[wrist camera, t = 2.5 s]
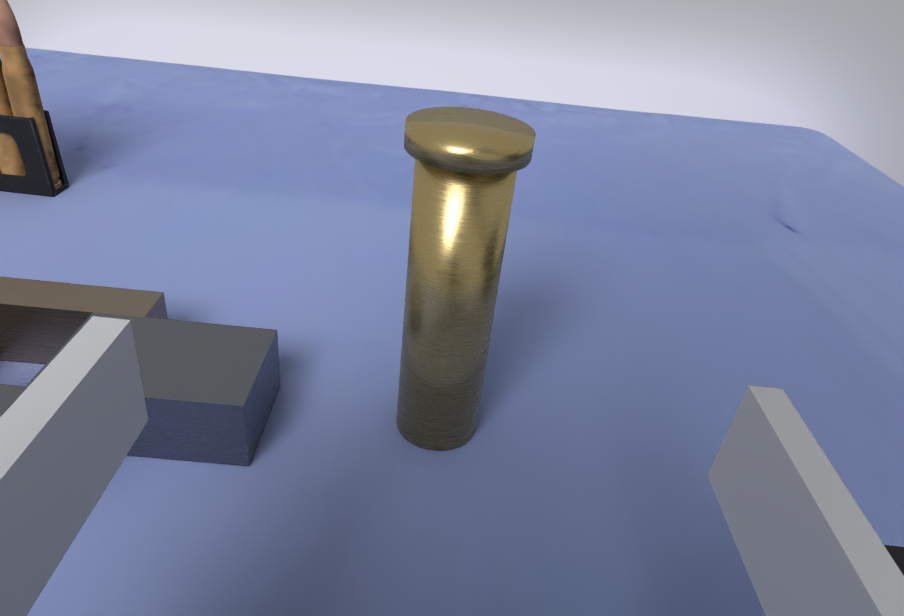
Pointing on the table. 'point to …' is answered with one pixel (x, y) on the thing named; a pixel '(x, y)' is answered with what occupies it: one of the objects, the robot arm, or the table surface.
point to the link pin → (454, 264)
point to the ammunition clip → (24, 121)
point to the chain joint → (155, 365)
